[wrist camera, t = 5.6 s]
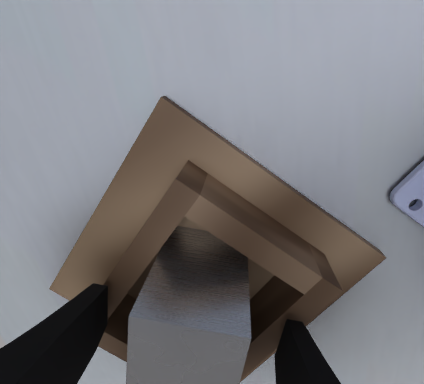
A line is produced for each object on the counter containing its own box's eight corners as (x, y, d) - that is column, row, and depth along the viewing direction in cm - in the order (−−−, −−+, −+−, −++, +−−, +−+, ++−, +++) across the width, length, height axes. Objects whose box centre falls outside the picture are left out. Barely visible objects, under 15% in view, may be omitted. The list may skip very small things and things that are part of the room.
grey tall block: (246, 237, 13) (251, 338, 8) (229, 319, 15) (223, 443, 10) (172, 224, 13) (128, 316, 8) (163, 307, 15) (124, 424, 10)
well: (380, 250, 13) (419, 297, 10) (229, 381, 17) (227, 441, 15) (165, 96, 12) (140, 100, 9) (56, 281, 16) (14, 326, 13)
